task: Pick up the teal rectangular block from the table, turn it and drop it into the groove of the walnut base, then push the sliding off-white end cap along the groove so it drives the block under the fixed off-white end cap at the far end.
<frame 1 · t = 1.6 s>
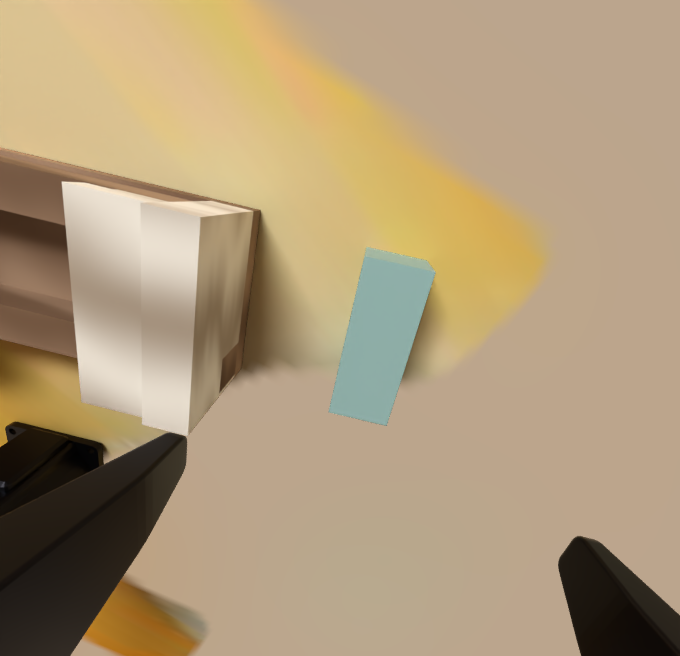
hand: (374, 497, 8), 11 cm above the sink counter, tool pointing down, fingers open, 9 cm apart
teal rectangular block: (376, 325, 18), on the sink counter
slat base: (70, 253, 18), on the sink counter
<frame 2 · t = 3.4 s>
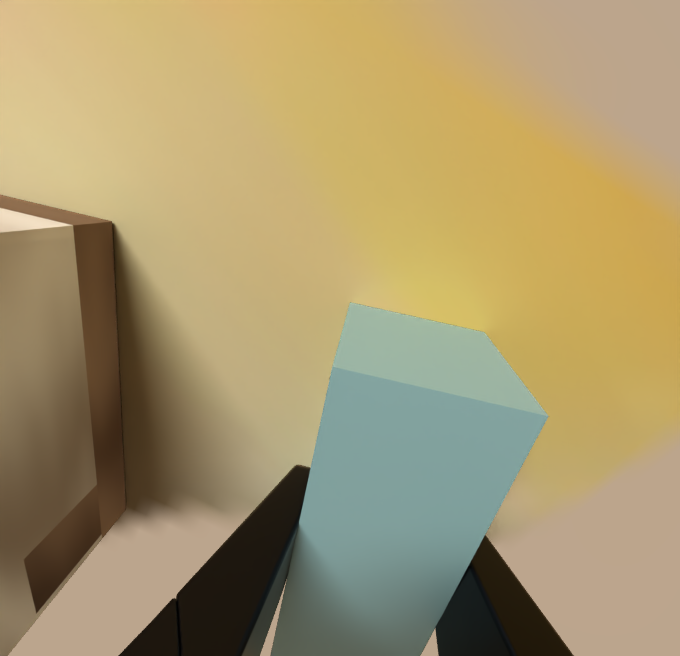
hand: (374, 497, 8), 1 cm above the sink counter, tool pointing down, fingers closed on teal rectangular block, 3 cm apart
teal rectangular block: (374, 455, 9), on the sink counter, touching gripper
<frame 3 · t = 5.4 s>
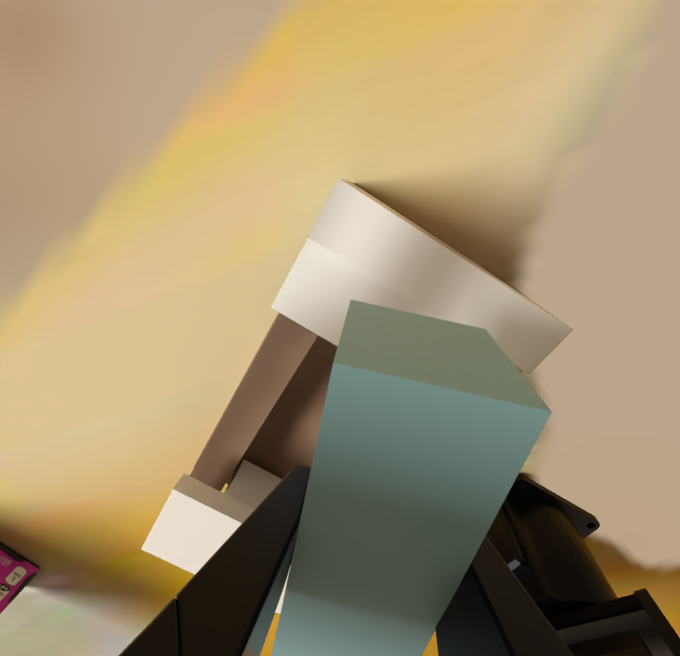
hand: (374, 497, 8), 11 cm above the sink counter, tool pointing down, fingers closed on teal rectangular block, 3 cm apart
teal rectangular block: (375, 453, 9), point 10 cm above the sink counter, touching gripper
sliding cap: (248, 520, 20), point 4 cm above the sink counter, slide at 7.0 cm
slat base: (329, 383, 20), on the sink counter
when the fingers open (4 cm above the sink counter, at t = 7.5 s): teal rectangular block drops 1 cm, resting on slat base.
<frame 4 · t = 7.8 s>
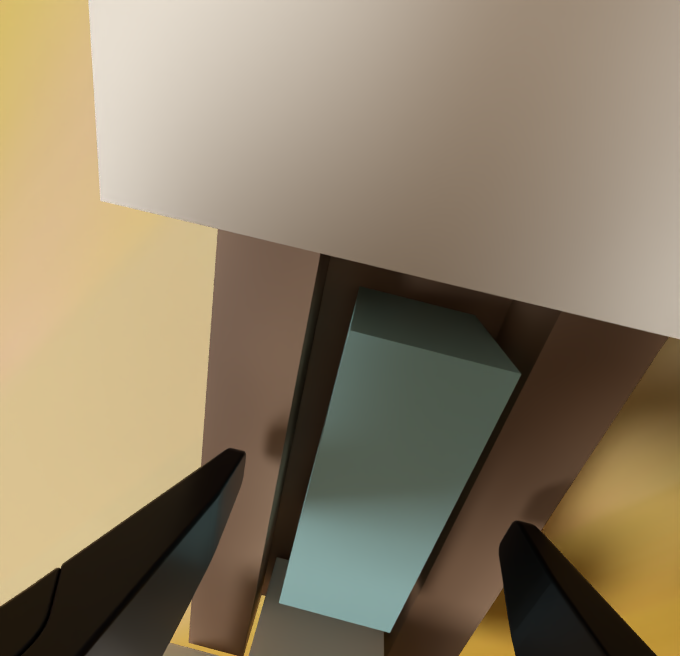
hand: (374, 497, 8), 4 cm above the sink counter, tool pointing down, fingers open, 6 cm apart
teal rectangular block: (375, 425, 10), point 1 cm above the sink counter, touching slat base
slat base: (378, 392, 11), on the sink counter
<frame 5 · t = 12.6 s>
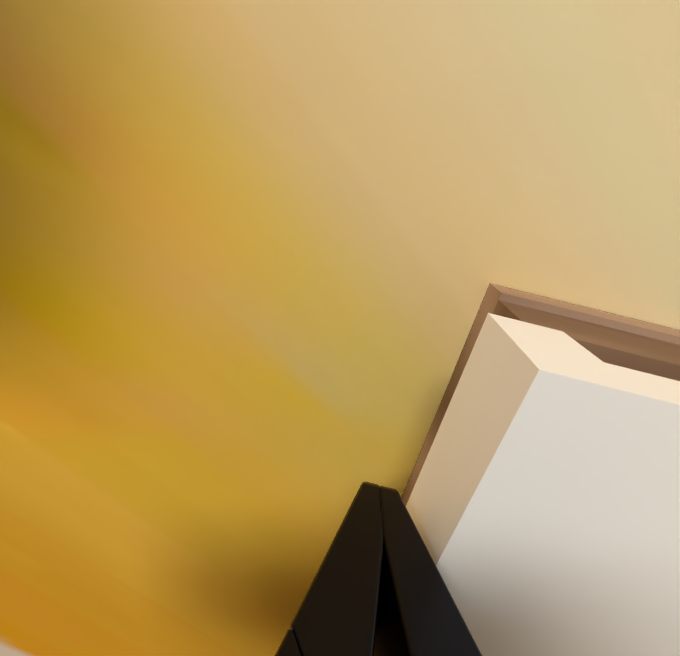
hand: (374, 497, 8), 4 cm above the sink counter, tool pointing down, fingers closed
sliding cap: (527, 510, 8), point 4 cm above the sink counter, slide at 6.6 cm, touching gripper
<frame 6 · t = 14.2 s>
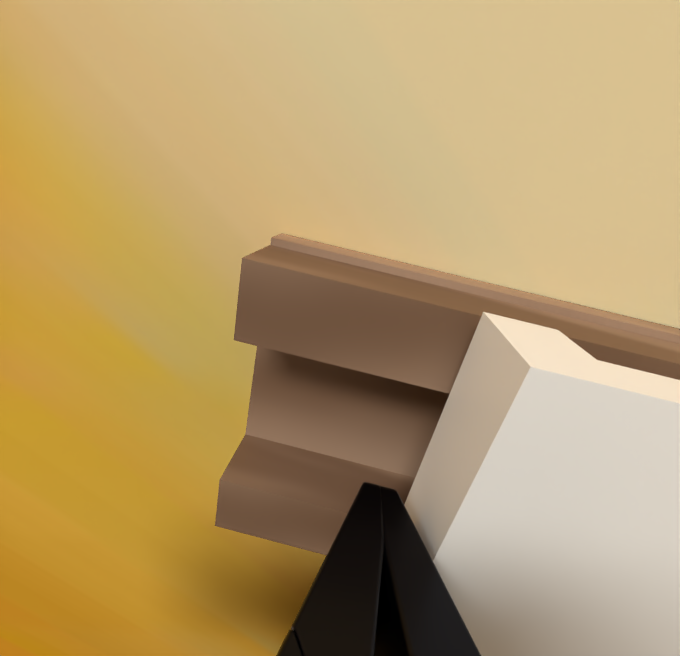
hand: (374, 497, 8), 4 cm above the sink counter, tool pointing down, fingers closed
sliding cap: (525, 508, 8), point 3 cm above the sink counter, slide at 0.4 cm, touching gripper
slat base: (546, 435, 11), on the sink counter
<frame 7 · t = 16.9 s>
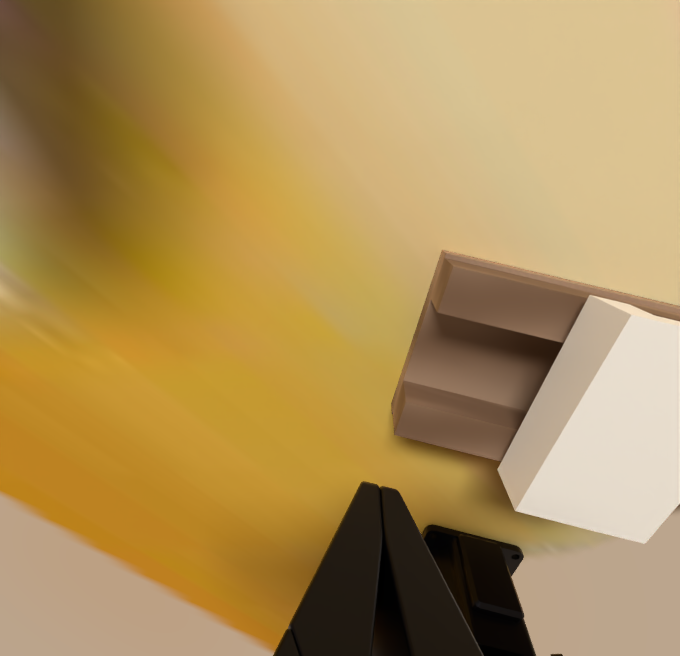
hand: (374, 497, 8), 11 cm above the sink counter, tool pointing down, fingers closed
sliding cap: (602, 409, 14), point 4 cm above the sink counter, slide at 0.4 cm, touching teal rectangular block
slat base: (601, 379, 18), on the sink counter
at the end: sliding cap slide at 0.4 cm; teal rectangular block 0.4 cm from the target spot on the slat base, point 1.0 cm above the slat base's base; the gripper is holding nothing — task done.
